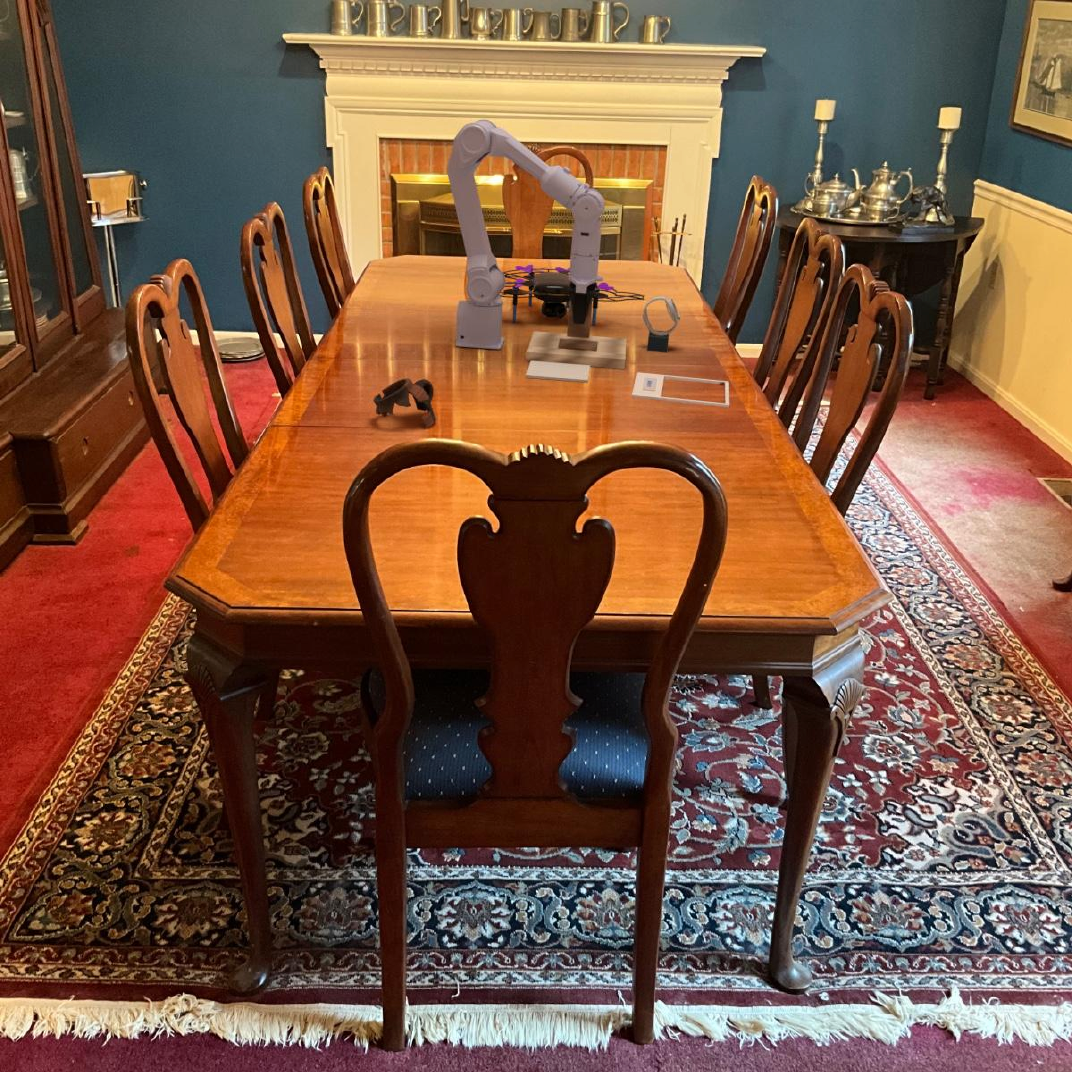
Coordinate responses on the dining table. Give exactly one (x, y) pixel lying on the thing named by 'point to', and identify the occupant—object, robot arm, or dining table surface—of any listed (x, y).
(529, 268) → the drone
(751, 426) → the dining table surface
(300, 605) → the dining table surface
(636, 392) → the photo frame
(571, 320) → the block
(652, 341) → the watch
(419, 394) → the brown curved piece
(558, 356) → the pocket board
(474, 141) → the robot arm
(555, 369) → the felt pad
